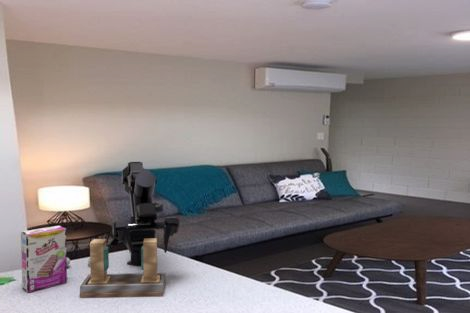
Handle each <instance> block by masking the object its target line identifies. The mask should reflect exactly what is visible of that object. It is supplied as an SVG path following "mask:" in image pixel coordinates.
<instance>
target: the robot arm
mask: <svg viewBox="0 0 470 313" xmlns="http://www.w3.org/2000/svg"><path fill="white" fill-rule="evenodd" d="M157 183H158V179H156V176H155V175H154V174H153V173H152V172H151V171H150V170H148V168H144V166H143V162H142V161H129V162H127V166H125V167H124V168H123V169H122V171H121V184H122V185H123V188H124V191H125V192H127V193H128V194H129V203H130V208H131V210H130V211H131V217H130V218H129V223H128V219H121V220H114V222H113V223H112V235H113V236H112V238H113V239H117V240H118V241H121V242H122V243H123V244H124V246H125V247H126V248H127V250H128V252H129V253H130V260H129V261H126V264H127V265H133V266H140V267H141V248H142V246H143V242H144V238H156V235H157V231H156V230H163V252H164V253H167V250H168V244H169V240H170V237H173V236H174V234H177V233H178V231H179V228H180V219H179V217H178V216H165V217H164V220H163V221H160V222H159V221H157V219H158V216H157V213H162V212H164V207H163V200H156V201H155V202H154V200H153V198H154V197H153V195H154V193H155V186H156V184H157Z"/></svg>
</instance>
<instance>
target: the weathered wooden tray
mask: <svg viewBox="0 0 470 313" xmlns="http://www.w3.org/2000/svg"><path fill="white" fill-rule="evenodd" d="M91 241H92V242H91ZM91 241H90V242H91V243H89V244H90V245H89V258H90V267H89V268H90V273H88V275H87V276H86V277H85V279H84V280H83V282H82V283H81V284H80V285H79V299H91V298H93V299H96V298H100V299H101V298H134V297H135V298H140V297H141V298H144V297H145V298H146V297H148V298H149V297H163V296H164V292H165V288H166V283H167V278H166V277H167V273H166V272H157V275H160V283H157V284H141V279H142V276H144V272H141V273H140V272H139V273H137V272H136V273H131V272H130V273H108V269H109V267H110V264H109V262H110V261H109V260H110V258H109V256H110V255H109V254H110V253H109V246H107V238H94V239H92V240H91Z"/></svg>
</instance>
